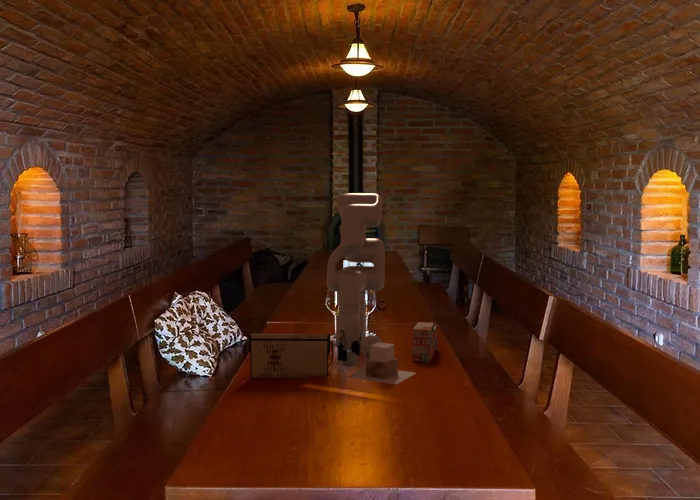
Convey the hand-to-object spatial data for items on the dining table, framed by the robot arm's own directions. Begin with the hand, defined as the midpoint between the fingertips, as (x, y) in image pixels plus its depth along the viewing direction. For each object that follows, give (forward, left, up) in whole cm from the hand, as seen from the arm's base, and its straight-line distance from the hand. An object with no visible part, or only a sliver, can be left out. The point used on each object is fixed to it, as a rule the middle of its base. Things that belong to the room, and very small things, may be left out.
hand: (348, 358), depth 257 cm
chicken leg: (+3, +15, -4) cm, 16 cm away
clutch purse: (-12, -20, -4) cm, 23 cm away
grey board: (+16, -6, -4) cm, 17 cm away
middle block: (+16, -6, +3) cm, 17 cm away
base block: (+16, -6, -2) cm, 17 cm away
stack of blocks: (+16, +31, -4) cm, 35 cm away
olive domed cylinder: (0, +1, -4) cm, 4 cm away
